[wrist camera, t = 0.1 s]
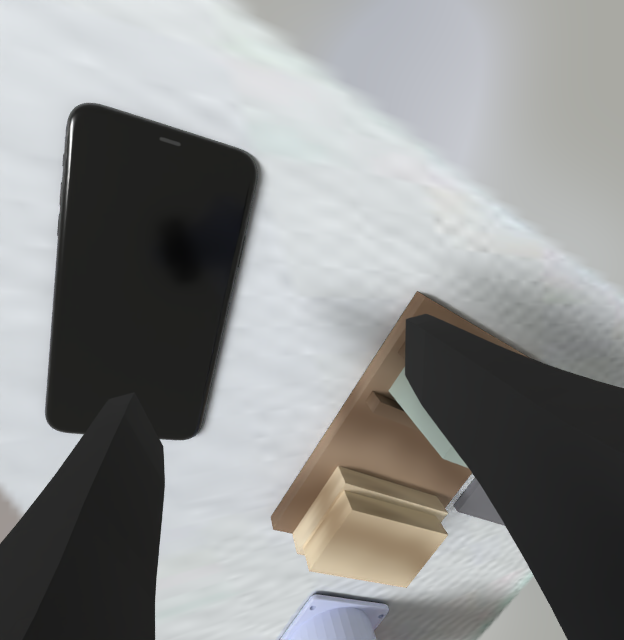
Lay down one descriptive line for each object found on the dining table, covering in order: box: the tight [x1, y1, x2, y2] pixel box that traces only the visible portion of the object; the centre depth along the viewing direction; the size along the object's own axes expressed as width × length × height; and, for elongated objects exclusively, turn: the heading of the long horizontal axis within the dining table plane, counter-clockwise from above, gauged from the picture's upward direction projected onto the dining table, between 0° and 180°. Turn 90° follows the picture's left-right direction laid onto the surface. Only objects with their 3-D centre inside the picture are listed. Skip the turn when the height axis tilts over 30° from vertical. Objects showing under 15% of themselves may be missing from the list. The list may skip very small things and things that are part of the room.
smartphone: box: [45, 103, 257, 440], centre depth 19 cm, size 8×1×16 cm
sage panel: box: [389, 367, 468, 468], centre depth 22 cm, size 2×9×6 cm, turn 59°
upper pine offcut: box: [304, 490, 448, 588], centre depth 25 cm, size 5×8×2 cm, turn 59°
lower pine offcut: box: [293, 466, 448, 555], centre depth 26 cm, size 6×9×2 cm, turn 59°
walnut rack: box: [271, 292, 529, 534], centre depth 26 cm, size 18×12×2 cm, turn 149°
